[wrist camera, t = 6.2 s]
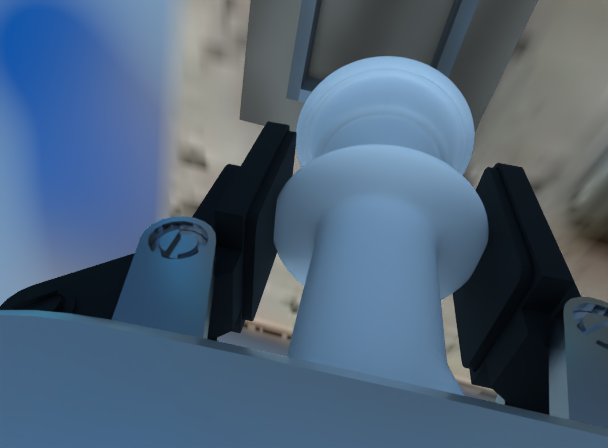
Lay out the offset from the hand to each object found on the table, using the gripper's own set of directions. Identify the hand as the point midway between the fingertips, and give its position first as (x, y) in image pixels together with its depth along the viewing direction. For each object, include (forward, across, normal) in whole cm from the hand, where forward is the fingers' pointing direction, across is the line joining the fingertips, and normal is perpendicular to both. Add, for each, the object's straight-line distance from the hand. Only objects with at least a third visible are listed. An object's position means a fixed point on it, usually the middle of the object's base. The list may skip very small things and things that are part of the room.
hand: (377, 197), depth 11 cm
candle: (+3, 0, 0) cm, 3 cm away
